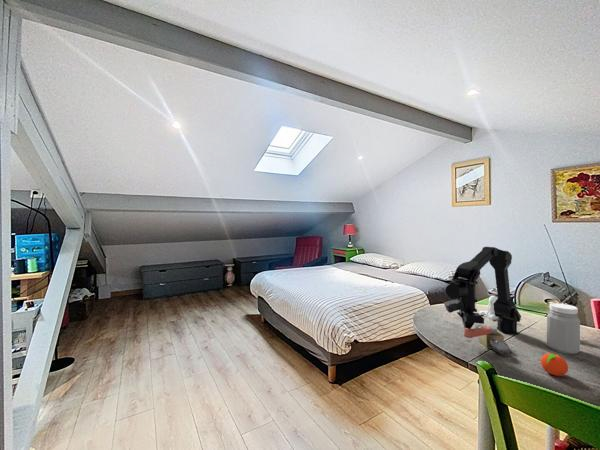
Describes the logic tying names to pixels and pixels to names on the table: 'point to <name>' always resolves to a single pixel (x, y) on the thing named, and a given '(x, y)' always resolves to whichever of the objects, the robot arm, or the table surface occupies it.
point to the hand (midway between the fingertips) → (466, 331)
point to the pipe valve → (494, 342)
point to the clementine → (554, 364)
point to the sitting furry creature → (490, 309)
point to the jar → (563, 328)
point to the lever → (478, 331)
